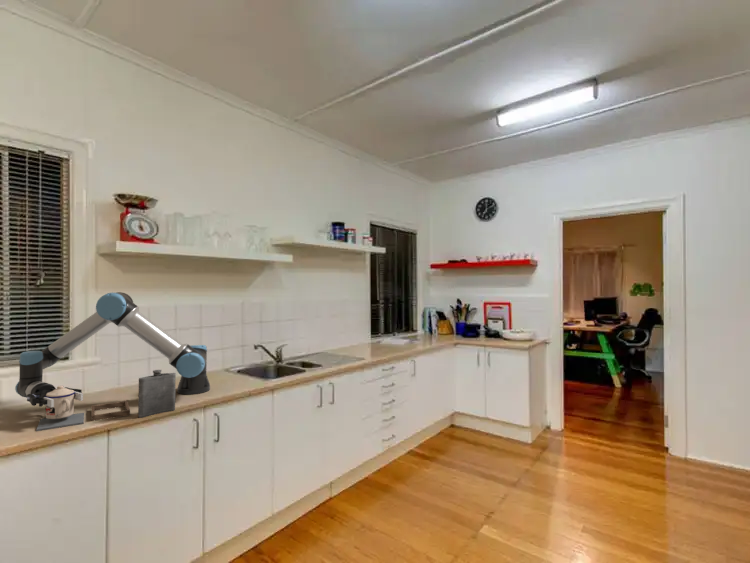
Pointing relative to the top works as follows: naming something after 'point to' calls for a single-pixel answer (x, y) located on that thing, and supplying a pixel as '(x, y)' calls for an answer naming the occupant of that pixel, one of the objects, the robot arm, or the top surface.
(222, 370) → the top surface
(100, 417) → the brown wooden tray
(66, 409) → the teacup with lid
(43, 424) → the slate mat
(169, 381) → the flask
